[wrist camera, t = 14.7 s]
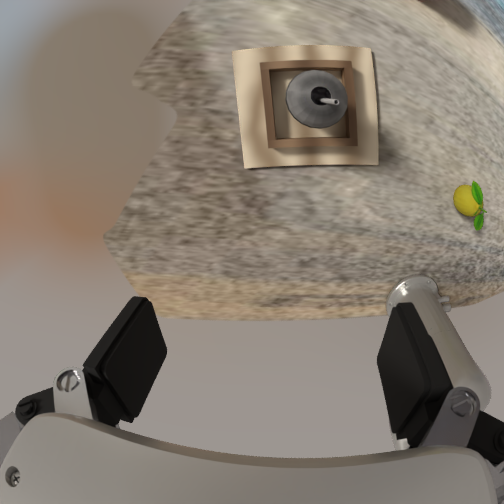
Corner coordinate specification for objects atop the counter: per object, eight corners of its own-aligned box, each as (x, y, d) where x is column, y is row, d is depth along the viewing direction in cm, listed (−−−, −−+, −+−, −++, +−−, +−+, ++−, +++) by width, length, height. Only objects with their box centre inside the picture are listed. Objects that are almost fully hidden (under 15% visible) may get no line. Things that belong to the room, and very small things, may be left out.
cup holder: (368, 49, 32) (375, 44, 29) (376, 163, 41) (384, 168, 38) (233, 52, 36) (228, 46, 32) (245, 167, 45) (241, 171, 41)
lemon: (458, 216, 43) (485, 238, 34) (440, 201, 42) (468, 221, 33) (474, 189, 40) (503, 206, 31) (457, 172, 39) (487, 187, 30)
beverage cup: (310, 73, 35) (328, 39, 18) (342, 108, 37) (383, 101, 20) (275, 101, 38) (266, 86, 21) (307, 135, 40) (323, 148, 22)
